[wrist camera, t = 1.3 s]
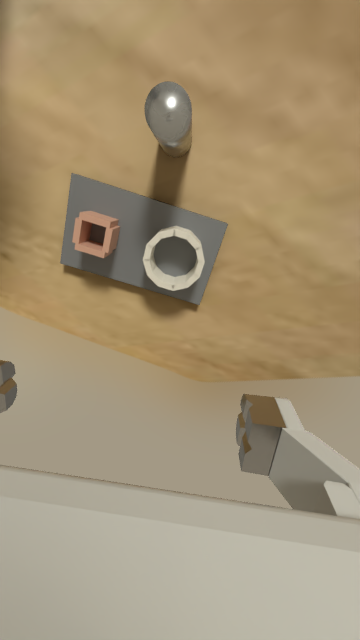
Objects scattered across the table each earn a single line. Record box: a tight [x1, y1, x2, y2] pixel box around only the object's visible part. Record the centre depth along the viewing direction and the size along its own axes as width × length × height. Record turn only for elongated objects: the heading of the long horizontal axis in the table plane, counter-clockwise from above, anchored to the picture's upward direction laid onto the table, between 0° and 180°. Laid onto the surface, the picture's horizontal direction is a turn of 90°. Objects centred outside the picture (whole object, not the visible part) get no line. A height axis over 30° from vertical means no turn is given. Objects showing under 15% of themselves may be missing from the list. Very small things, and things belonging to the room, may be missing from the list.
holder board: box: [60, 173, 228, 305], centre depth 37 cm, size 21×12×6 cm, turn 73°
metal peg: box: [145, 82, 192, 157], centre depth 29 cm, size 4×4×12 cm
